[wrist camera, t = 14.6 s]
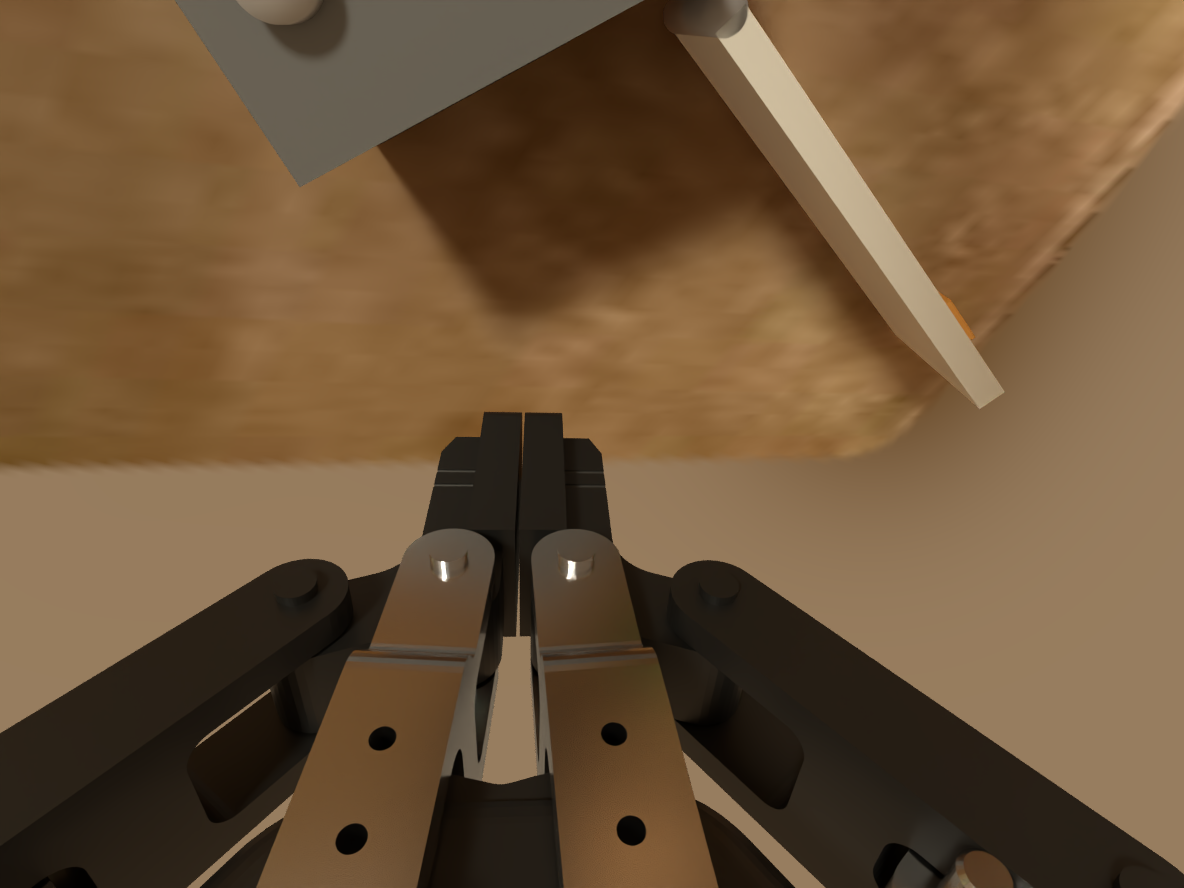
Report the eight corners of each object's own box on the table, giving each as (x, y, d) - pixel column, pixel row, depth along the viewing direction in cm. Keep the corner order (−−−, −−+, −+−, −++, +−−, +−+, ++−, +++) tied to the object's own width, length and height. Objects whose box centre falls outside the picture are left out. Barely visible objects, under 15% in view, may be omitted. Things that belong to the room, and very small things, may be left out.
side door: (656, 13, 24) (693, 10, 18) (693, -27, 23) (746, -43, 17) (893, 336, 31) (977, 410, 25) (926, 311, 30) (1020, 381, 25)
